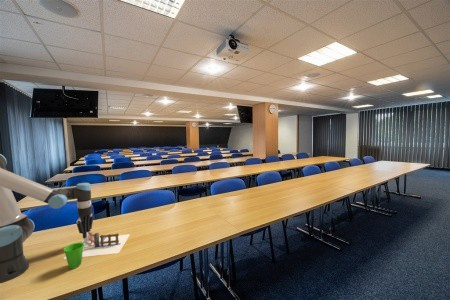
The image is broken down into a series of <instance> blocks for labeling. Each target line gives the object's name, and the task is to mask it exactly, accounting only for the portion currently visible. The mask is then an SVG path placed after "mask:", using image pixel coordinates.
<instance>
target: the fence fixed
mask: <svg viewBox="0 0 450 300" xmlns="http://www.w3.org/2000/svg"><path fill="white" fill-rule="evenodd" d="M93 234H94V236H95V247H99V237H100V238H101V242H100V244H101V246H103V245H104V244H107V243H108V245H111V243H116V245H118V242H119V240H118V236H119V235H120V234H119V233H115V234H114V233H113V234H111V233H109V234H101V235H100V233H99V232H96V233H93ZM115 236H116V240H114V241H111V237H115ZM104 237H108V241H103V238H104Z"/></svg>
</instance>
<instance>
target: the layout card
mask: <svg viewBox="0 0 450 300" xmlns="http://www.w3.org/2000/svg"><path fill="white" fill-rule="evenodd" d="M130 235H131V233H129V234H128V233H127V234H119V236H118V240H119V242H118V245H116V243H111V245H108V243H107V244H104V245H103V246H101V244H100V242H101V238H100V236H99V247H95V245H94V243H91V241H89V242H84V239H83V240H82V241H80V242H82V243H84V246H83V253H82V258H85V257H94V256H103V255H106V256H107V255H113V254H119V253H120V252H121V250H122V249H123V247H124V245H125V243H127V240H128V239H129V238H130ZM93 240H94V239H93ZM114 240H116V236H115V237H111V241H114ZM103 241H108V237H104V238H103ZM62 259H63V260H67V258H66V256H64V257H63V258H62Z"/></svg>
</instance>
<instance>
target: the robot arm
mask: <svg viewBox="0 0 450 300" xmlns="http://www.w3.org/2000/svg"><path fill="white" fill-rule="evenodd" d="M7 163H8V162H7V159H6V157H5V155H3V154H1V153H0V283H4V282H8V281H10V280H12V279H15V278H17V277H18V276H21V275H23V274H25V272H26V271H28V269H29V267H30V262H29V260H27V257H26V256H25V254H24V243H25V242H26V240H27V239H29V237H30V236H31V235H32V234H33V232H34V230H35V223H34V221H33V220H32V219H30V218H29V217H28V215H27V214H24V213H22V212H21V209H20V206H19V205H18V203H17V202H18V201H17V200H16V197H15V196H14V193H13V191H14V192H15V193H19V194H21V195H24V196H26V197H29V198H32V199H34V200H37V201H39V202H43V203H45V204H48V207H50V208H51V209H55V210H56V209H60V208H63V206H65V205H66V204H67V203H68V202H69V201H70V200H71V201H72V200H76V203H77V204H76V205H77V206H76V207H77V215H78V217H77V218H78V219H77V220H75V221H74V223H75V224H76V227H77V230H78V232H79V234H82V238H83V240H84V242H89V232H91V230H92V229H93V223H94V217H95V214H94V213H92V210H93V209H92V188H91V183H89V182H82V183H81V182H80V183H77V184H76V186H74V187H67V188H65V187H64V188H57V189H53V188H52V187H48V186H46V185H44V184H41V183H38V182H36V181H34V180H31V179H29V178H26V177H24V176H22V175H19V174H16V173H14V172H11V171H9V170H7V167H6V166H7Z"/></svg>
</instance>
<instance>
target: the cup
mask: <svg viewBox="0 0 450 300" xmlns="http://www.w3.org/2000/svg"><path fill="white" fill-rule="evenodd" d="M83 246H84V243H82V242H81V241H79V242H74V243H71V244H69V245H67V246H65V247H64V248H63V252H64V255H65V257H66V258H67V259H66V262H67V264H68V268H69V269H70V270H74V269H77V268H78V267H80V266H81V265H82V261H83V260H82V259H83V257H82V253H83Z"/></svg>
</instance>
